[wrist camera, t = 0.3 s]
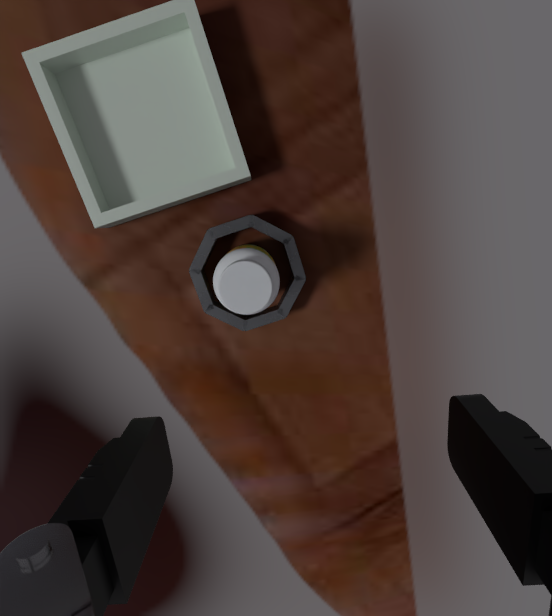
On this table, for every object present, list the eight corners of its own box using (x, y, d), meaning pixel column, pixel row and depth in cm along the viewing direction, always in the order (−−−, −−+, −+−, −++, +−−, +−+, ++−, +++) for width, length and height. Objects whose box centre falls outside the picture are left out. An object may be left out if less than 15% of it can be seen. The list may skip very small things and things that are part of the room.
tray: (43, 68, 33) (21, 52, 30) (198, 15, 33) (192, -7, 30) (108, 227, 36) (94, 228, 33) (251, 179, 36) (250, 175, 33)
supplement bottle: (277, 245, 38) (284, 252, 28) (274, 300, 39) (280, 325, 29) (221, 242, 37) (208, 248, 28) (219, 298, 38) (207, 322, 29)
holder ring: (181, 238, 37) (176, 239, 35) (281, 204, 37) (283, 203, 35) (217, 335, 39) (215, 341, 37) (312, 304, 39) (315, 308, 37)
